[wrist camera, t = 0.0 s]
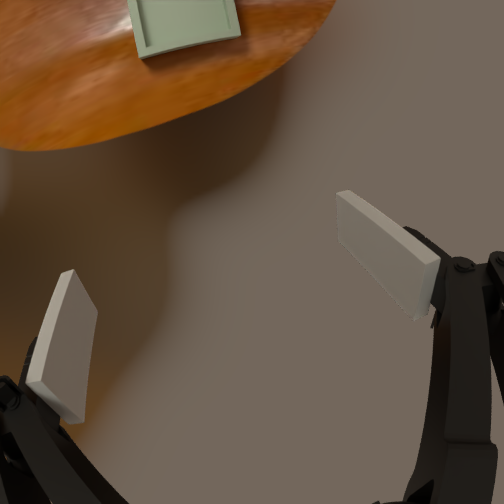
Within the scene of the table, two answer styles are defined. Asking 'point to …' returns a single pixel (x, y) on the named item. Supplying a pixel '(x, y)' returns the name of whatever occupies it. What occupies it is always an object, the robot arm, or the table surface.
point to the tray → (181, 24)
